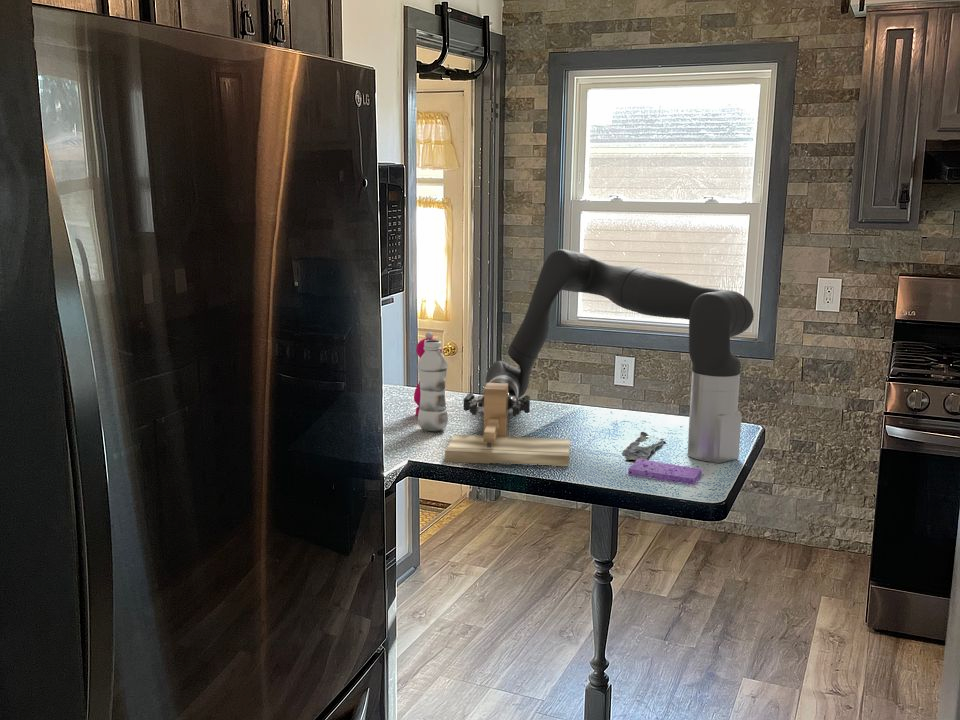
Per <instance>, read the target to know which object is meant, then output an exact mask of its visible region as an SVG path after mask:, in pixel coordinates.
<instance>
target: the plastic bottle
mask: <svg viewBox="0 0 960 720" xmlns="http://www.w3.org/2000/svg"><path fill="white" fill-rule="evenodd" d="M441 346H442V341H441V340H439V339H436V340H426V341H424V350H425V352H424V354H423V355H422V356H421V358H420V357H419V359H420V360H419V359H418V360H419V361H418V360H417V361H418V362H417V373H418V379H419V380H420V389H421V390H420V393H421V396H420V409H419V413H418V417H417V422H418V426H419V427H420V430H423V431H429V432H438V431H443V430H445V429H446V428H447V426H448V422H449V417H448V416H449V415H448V414H449V413H448V409H447V403H446V381H447V373H448V362H447V360H446V358H445V356H444V355H443V354H442V353H441V352H440V350H442V351H443V347H441ZM419 380H418V381H419Z"/></svg>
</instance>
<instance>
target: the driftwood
mask: <svg viewBox="0 0 960 720" xmlns="http://www.w3.org/2000/svg"><path fill="white" fill-rule="evenodd" d="M639 434H640V436H639V437H636V440H635V441H634V442H631V443H630V444H629V445H628V446H627V447H626V448H624V449H623V450H622V453H621V455H622V456H623V457H624V458H625V459H624V461H625V462H626V461H629V460H633V461H636V460H637V459H644V460H648V458H649V456H650V455H651V454H652V453H653V454H654V453H655V450H656V449H657V447H660V446H662V445H664V443H665V439H664V438H661V439H659V441H658V443H652V444H651V445H650V446H639V445H641V443H644V442H647V440H649V439H648V438H649V437H646V436H650V435H649V434H648V433H647V432H645V431H640V433H639Z"/></svg>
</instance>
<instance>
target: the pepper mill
mask: <svg viewBox="0 0 960 720" xmlns="http://www.w3.org/2000/svg"><path fill="white" fill-rule="evenodd" d="M433 337H434V333H432V332H431V331H427V332H425V338H422V339H421V340H420V341H418V343H417V344H416V354H417V355H418V357H419V358H418V360H417V361H419V360H420V358H421V356H422V355H423V354H424V352H425V350H424V341H426V340H437V339H435V338H433ZM441 347H442V345H441ZM442 348H443V347H442ZM440 352H441V354H442V353H443V349H442V350H440ZM420 390H421V389H420V380H418V383H417V386H416V388H415V390H414V393H413V400H414V402H415V404H416V405H417V407H416V408H415V416H416V417H417V418H418V413H419V409H420V396H421V393H420Z"/></svg>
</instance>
